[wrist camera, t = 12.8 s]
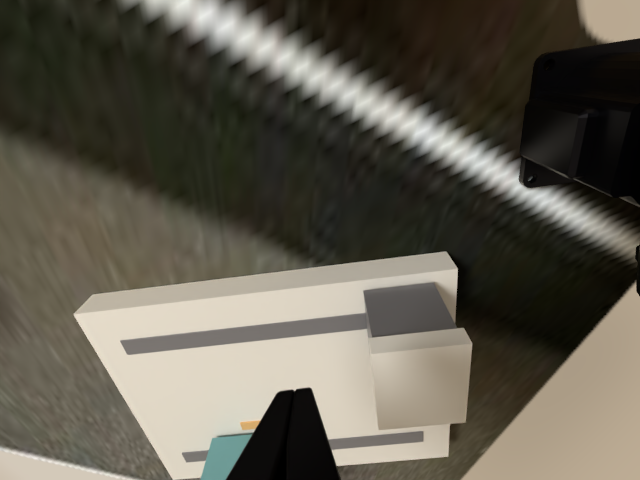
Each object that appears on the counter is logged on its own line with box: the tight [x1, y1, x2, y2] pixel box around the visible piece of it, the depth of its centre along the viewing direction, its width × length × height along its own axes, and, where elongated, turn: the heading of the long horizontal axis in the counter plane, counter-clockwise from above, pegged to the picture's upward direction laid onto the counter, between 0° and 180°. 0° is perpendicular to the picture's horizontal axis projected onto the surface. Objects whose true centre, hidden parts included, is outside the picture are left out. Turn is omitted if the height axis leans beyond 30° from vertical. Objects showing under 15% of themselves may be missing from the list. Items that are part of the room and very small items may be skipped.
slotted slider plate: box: [73, 252, 458, 480], centre depth 25 cm, size 23×18×2 cm
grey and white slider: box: [363, 282, 472, 430], centre depth 18 cm, size 4×5×5 cm
